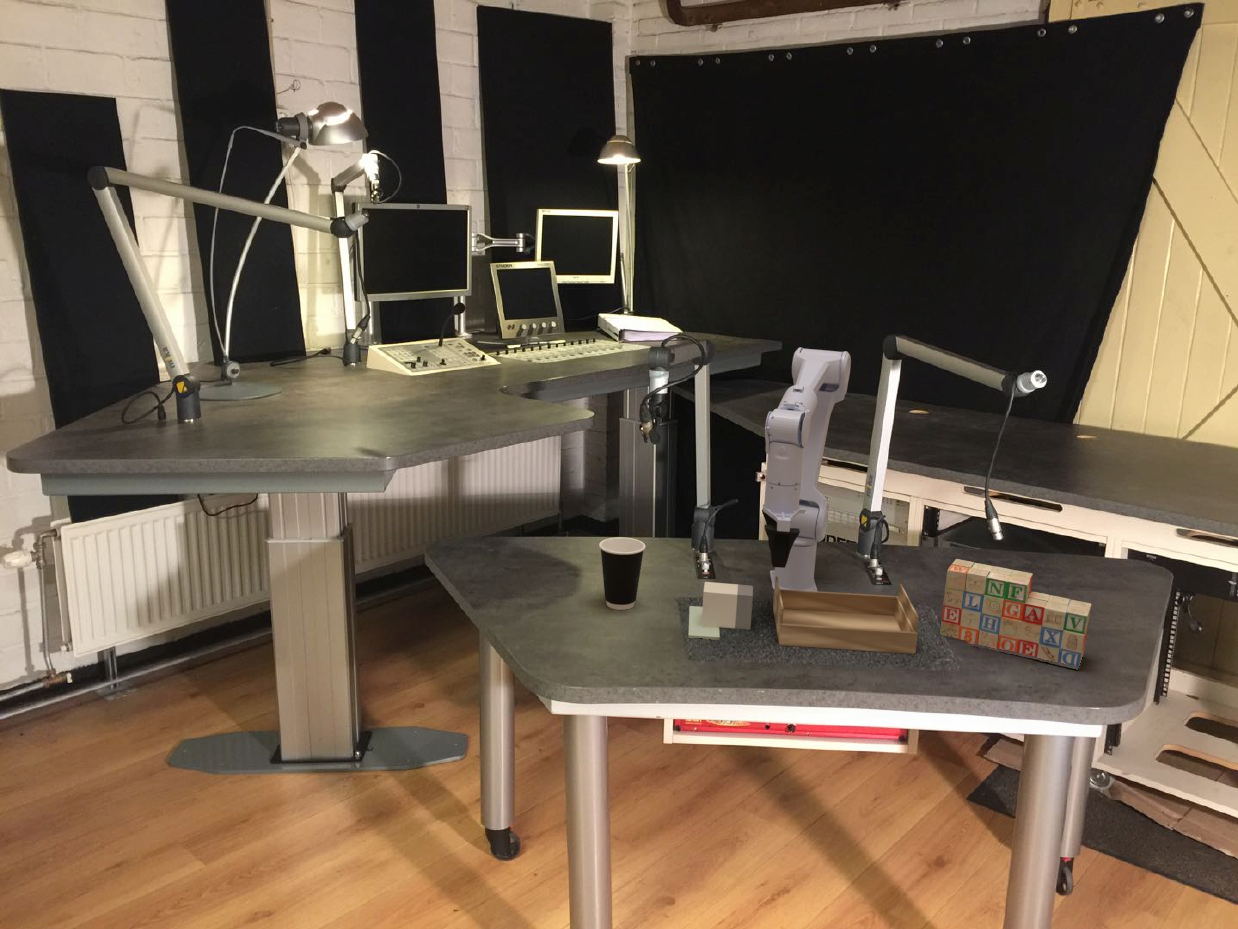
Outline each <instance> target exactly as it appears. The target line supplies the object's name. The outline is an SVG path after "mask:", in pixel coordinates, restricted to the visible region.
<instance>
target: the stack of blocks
mask: <svg viewBox="0 0 1238 929" xmlns="http://www.w3.org/2000/svg"><path fill="white" fill-rule="evenodd" d="M1033 576H1034V574H1033V573H1031V572H1026V571H1021V570H1015V569H1012V568H1011V569H1010V568H1005V567H1001V566H994V565H989V564H984V563H980V562H979V563H977V562H974V561H969V560H964V559H959V558H956V559H955V560H954V561H953V562H952V564H950V566H949V567H948V569H947V570H946V576H945V577H946V578H945V586H944V594H943V605H942V611H941V612H942V613H941V623H940V630H939V635H941V636H944V637H945V636H946V637H948V638H954V639H958V640H962V641H965V642H966V643H967V644H968V643H969V644H979V645H982V646H987V647H991V648H995V649H1002V650H1009V651H1014V652H1016V653H1021V654H1024V655H1029V656H1035V657H1037V658H1041V659H1044V660H1049V661H1053V662H1061V663H1064V664H1068V665H1071V666H1074V667H1077V668H1079V669H1080V667H1081V664H1082V662H1081V660H1082V661H1083V659H1082V657H1083V658H1084V653H1085V652H1084V651H1085V646H1086V640H1087V633H1088V628H1089V622H1090V615H1091V610H1092V603H1090V602H1085V601H1079V600H1075V599H1070V598H1067V597H1061V596H1058V595H1050V594H1047V593H1042V592H1038V591H1032V585H1033V584H1032V583H1033ZM1080 663H1081V664H1080ZM1079 666H1080V667H1079Z"/></svg>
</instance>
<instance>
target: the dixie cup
mask: <svg viewBox="0 0 1238 929" xmlns="http://www.w3.org/2000/svg"><path fill="white" fill-rule="evenodd" d="M598 546H599V549H600V554H601V566H602V577H603V579H602V580H603V591H604V592H603V593H604V599H605V602H606V607H608V608H609V607H610V608H609V609H611V610H612V609H613V610H618V611H621V610H622V611H625V610H626V609H627V610H630V609H632V608H633V607H634V606H635V602H636V601H637V595H638V590H639V581H640V576H641V569H642V563H643V558H644V557H643V556H644V550H645V549H646V544H645V543H644V542H643V541H641V540H639V539H636V538H631V537H622V536H621V537H620V536H619V537H618V536H617V537H610V538H606V539H602V540H601V541H600V542H599V544H598Z"/></svg>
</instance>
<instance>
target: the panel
mask: <svg viewBox="0 0 1238 929" xmlns="http://www.w3.org/2000/svg"><path fill="white" fill-rule="evenodd" d="M688 607H689V608H688V609H689V610H688V633H687V634H688V636H687V639H694V638H703V639H702V640H709V639H711V640H713V641H720V640H721V638H720V627H709V626H702V609H703V606H695V605H689V606H688Z"/></svg>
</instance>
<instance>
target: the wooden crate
mask: <svg viewBox="0 0 1238 929" xmlns="http://www.w3.org/2000/svg"><path fill="white" fill-rule="evenodd" d="M772 609H773V610H772V611H773V616H774V621H775V628H776V634H777V639H778V644H779V645H778V646H788V647H803V648H804V647H805V648H818V649H819V648H820V649H835V650H847V651H850V650H851V651H864V652H878V653H879V652H881V653H883V652H884V653H895V654H896V653H897V654H909V655H910V654H911V655H916V650H917V642H918V635H919V634H918V626H919V616H918V613H917V611H916V609H915V607H914V606H913V603H912V601H911V599H910V597H909V596H908V594H907V592H906V590H905V587H904V586H903V584H902V583H899V588H898V595H883V594H866V593H849V592H837V591H836V592H834V591H833V592H832V591H818V590H817V591H804V590H788V589H780V587H779V582H778V577H777V576H776V578H775V589H773V603H772Z"/></svg>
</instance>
